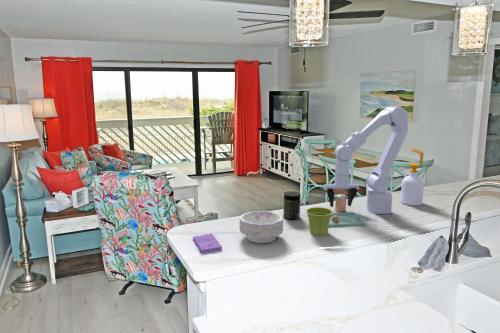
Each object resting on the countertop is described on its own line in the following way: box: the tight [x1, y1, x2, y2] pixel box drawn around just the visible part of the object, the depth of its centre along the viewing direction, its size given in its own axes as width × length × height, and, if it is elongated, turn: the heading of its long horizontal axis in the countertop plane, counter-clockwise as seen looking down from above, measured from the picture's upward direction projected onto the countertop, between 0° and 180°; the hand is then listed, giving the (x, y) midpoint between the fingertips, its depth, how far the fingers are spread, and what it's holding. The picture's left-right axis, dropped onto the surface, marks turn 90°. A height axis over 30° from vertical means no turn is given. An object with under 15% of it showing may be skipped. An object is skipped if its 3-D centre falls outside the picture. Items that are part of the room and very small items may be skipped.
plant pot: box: [305, 206, 334, 237], centre depth 139 cm, size 9×9×9 cm
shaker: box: [334, 193, 348, 213], centre depth 162 cm, size 5×5×7 cm
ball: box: [331, 215, 340, 223], centre depth 148 cm, size 3×3×3 cm
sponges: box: [192, 232, 223, 254], centre depth 131 cm, size 7×13×2 cm, turn 21°
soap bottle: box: [400, 147, 425, 207], centre depth 172 cm, size 9×9×25 cm
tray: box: [329, 211, 367, 228], centre depth 151 cm, size 16×12×2 cm
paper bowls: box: [239, 210, 284, 244], centre depth 135 cm, size 15×15×8 cm
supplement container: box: [282, 190, 302, 221], centre depth 154 cm, size 7×7×10 cm
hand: (340, 205), depth 162 cm, fingers open, 7 cm apart
